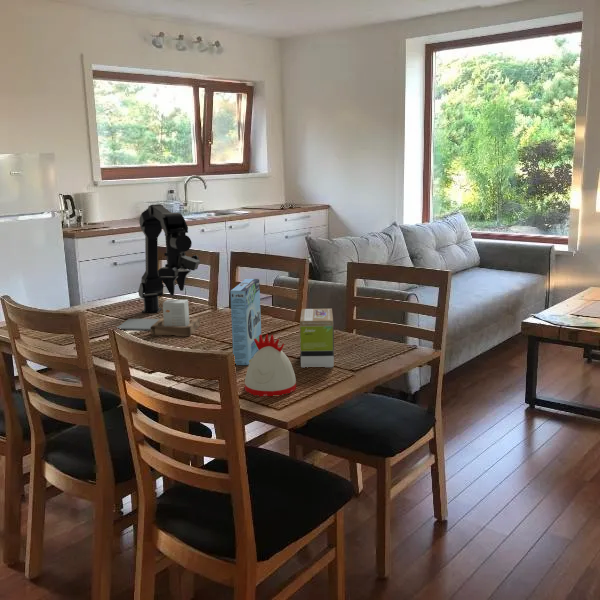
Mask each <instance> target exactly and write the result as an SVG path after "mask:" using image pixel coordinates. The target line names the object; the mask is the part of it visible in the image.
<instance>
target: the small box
mask: <svg viewBox="0 0 600 600" xmlns="http://www.w3.org/2000/svg"><path fill="white" fill-rule="evenodd" d="M162 311H163V317H164V326H188V325H189V324H190V309H189V299H166V300H165V301H163V303H162Z"/></svg>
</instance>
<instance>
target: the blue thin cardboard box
mask: <svg viewBox="0 0 600 600" xmlns="http://www.w3.org/2000/svg"><path fill="white" fill-rule="evenodd" d="M260 288H261V287H260V278H245V279H243V280H242V281H241V282H240V283H239V284H237V285H236V286H235V287H234V288H232V289H231V290H230V291H229V292H230V313H231V315H230V318H231V335H232V336H231V338H232V355H233V354H234V356H235V363H236V365H235V366H249V363H250V362H249V361H250V360H251V359H252V358H253V356H254V355H255V354H256V352H257V351H259V349H258V347H257V345H256V343H255V341H254V339H255V338H256V339H257V341H258V342H259V335H260V334H261V335H262V320H261V317H262V316H261V292H260Z"/></svg>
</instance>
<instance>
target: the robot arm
mask: <svg viewBox="0 0 600 600" xmlns="http://www.w3.org/2000/svg"><path fill="white" fill-rule="evenodd" d="M138 221H139V222H138V223H139V226H140V230H141V231H142V233H143V235H144V237H145V241H144V242H145V245H144V246H145V252H144V253H145V272H143V275H142V276H141V282H140V283H139V287H138V291H137V292H138V297H140V298H141V299H143V307H144V308H143V309H142V310H141V313H147V314H149V313H151V314H153V313H158V312H160V311H161V310H163V307H160V306H159V305H160V303H159V297H163V295H164V286H165V288H166V290H167V291H168V293H169V295H171V296H174V295H175V287H176V283H177V286H178V289H179V290H180V291H182V292H183V291H184V288H185V285H186V279H187V277H188V275H189V274H190V273H191V272H192V271H196V270H198V267H199V265H200V264H201V262H200V261H201V260H200V257H199V255H197V254H194V255H192V256H187V255H186V252H188V251H189V250H190V249H191V247H192V240H191V238H190V236H188V235H187V233H189V226H188V224H187V222H186V220H185V217H184V216H183V215H182V213H181V212H171V211H170V210H168V209H167V208H166V207H164V205H163V204H150V205H148V207H147V209H146V210H144V211H142V212H141V214H140V217H139V219H138ZM162 231H163V232H164V236H165V251H166V252H164V256H165V257H166V264H165V265H164V267H162V266H161V267H160V268H159V269H158V267H159V266H158V265H159V263H158V261H159V260H158V257H159V255H158V250H159V249H158V248H159V247H158V245H159V244H158V243H159V242H158V238H159V236H160V235H161V233H162Z"/></svg>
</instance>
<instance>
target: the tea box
mask: <svg viewBox="0 0 600 600" xmlns="http://www.w3.org/2000/svg"><path fill="white" fill-rule="evenodd" d="M334 332H335V331H334V315H333V308H301V311H300V317H299V343H300V344H299V346H300V351H299V352H300V367H301V368H305V367H307V369H308V367H325V368H334V366H335V365H334V364H335V363H334V362H335V360H334V359H335V358H334V357H335V341H334V340H335V336H334V335H335V333H334ZM305 369H306V368H305Z"/></svg>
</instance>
